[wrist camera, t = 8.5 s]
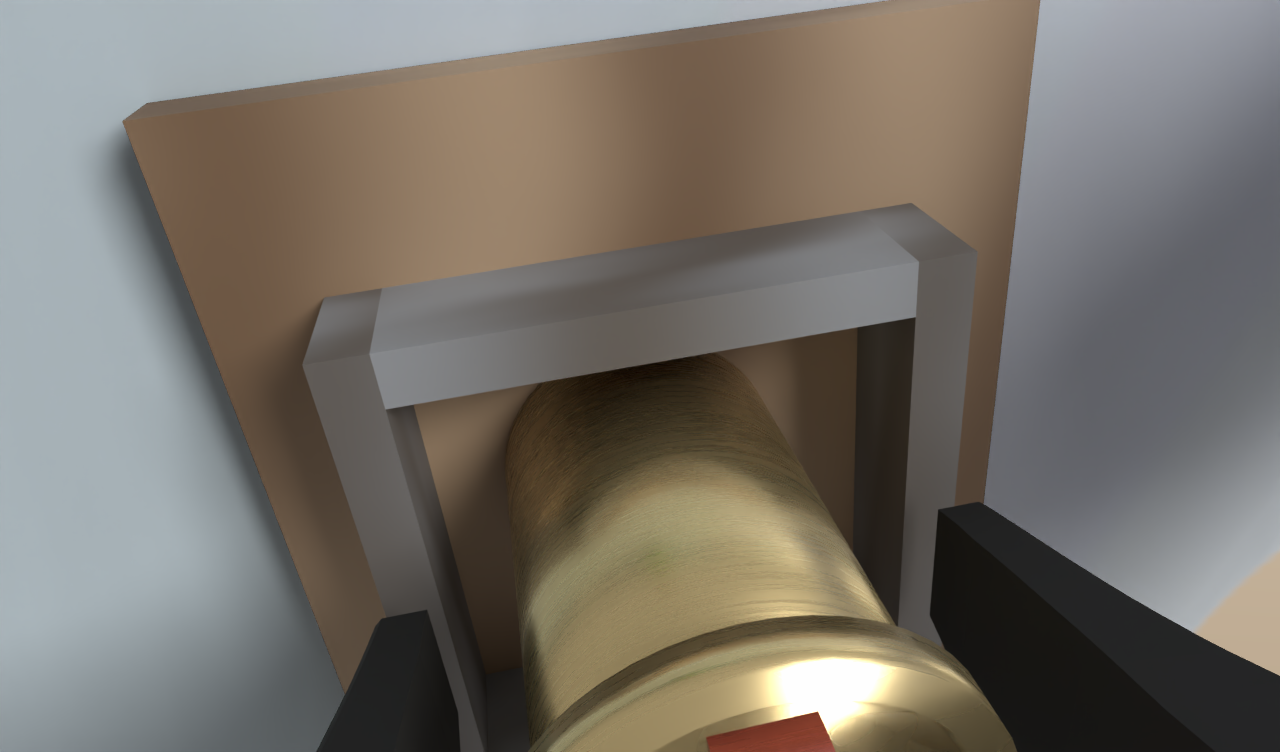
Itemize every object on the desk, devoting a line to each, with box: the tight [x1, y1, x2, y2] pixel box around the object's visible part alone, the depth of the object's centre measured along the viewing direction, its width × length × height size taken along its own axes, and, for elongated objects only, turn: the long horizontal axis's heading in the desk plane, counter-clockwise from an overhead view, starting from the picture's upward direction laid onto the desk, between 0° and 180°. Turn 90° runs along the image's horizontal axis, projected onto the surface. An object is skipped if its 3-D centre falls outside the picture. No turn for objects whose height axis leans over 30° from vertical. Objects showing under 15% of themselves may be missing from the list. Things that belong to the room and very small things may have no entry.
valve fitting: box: [505, 352, 1017, 752], centre depth 11 cm, size 5×5×8 cm
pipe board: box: [122, 0, 1040, 752], centre depth 15 cm, size 12×16×3 cm
